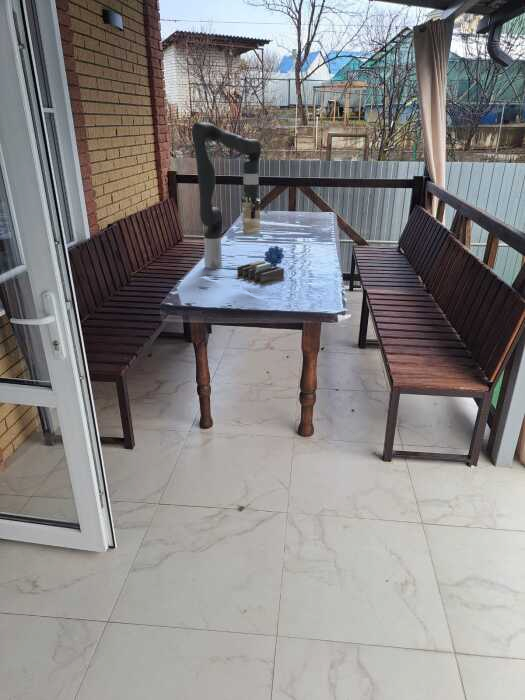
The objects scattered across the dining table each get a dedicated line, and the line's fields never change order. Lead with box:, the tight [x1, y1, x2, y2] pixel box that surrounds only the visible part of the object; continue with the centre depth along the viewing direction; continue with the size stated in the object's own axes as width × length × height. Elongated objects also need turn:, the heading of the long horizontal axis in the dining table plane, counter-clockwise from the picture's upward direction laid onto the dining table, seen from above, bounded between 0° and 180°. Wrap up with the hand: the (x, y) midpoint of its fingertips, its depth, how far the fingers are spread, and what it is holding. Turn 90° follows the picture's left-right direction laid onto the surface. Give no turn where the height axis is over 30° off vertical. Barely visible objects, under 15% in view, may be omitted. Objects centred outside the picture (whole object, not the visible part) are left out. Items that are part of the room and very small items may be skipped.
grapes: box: [263, 245, 285, 267], centre depth 279 cm, size 12×7×12 cm, turn 75°
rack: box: [234, 260, 287, 286], centre depth 258 cm, size 22×18×6 cm
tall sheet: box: [241, 202, 261, 237], centre depth 250 cm, size 2×10×16 cm, turn 133°
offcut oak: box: [249, 260, 266, 270], centre depth 259 cm, size 2×9×7 cm, turn 133°
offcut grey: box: [256, 262, 271, 272], centre depth 256 cm, size 2×9×7 cm, turn 133°
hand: (251, 218), depth 250 cm, fingers closed on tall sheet, 2 cm apart
